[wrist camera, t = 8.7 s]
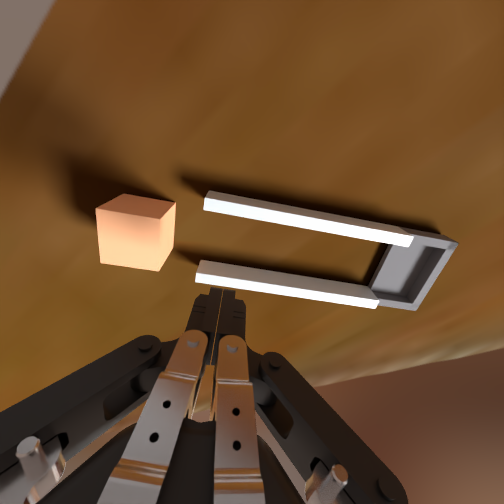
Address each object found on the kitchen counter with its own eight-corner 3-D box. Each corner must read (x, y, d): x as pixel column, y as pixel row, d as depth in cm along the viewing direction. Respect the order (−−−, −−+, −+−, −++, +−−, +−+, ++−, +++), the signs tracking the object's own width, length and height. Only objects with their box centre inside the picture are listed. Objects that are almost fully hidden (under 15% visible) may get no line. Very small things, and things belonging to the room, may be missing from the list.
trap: (444, 235, 24) (458, 243, 22) (405, 300, 27) (415, 310, 26) (397, 226, 23) (408, 233, 22) (364, 293, 27) (371, 304, 25)
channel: (397, 226, 23) (413, 236, 21) (364, 293, 27) (375, 308, 25) (209, 190, 21) (204, 197, 19) (199, 268, 25) (195, 281, 23)
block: (175, 202, 22) (160, 219, 18) (173, 247, 24) (158, 271, 20) (123, 193, 21) (95, 208, 17) (125, 239, 23) (100, 262, 19)
